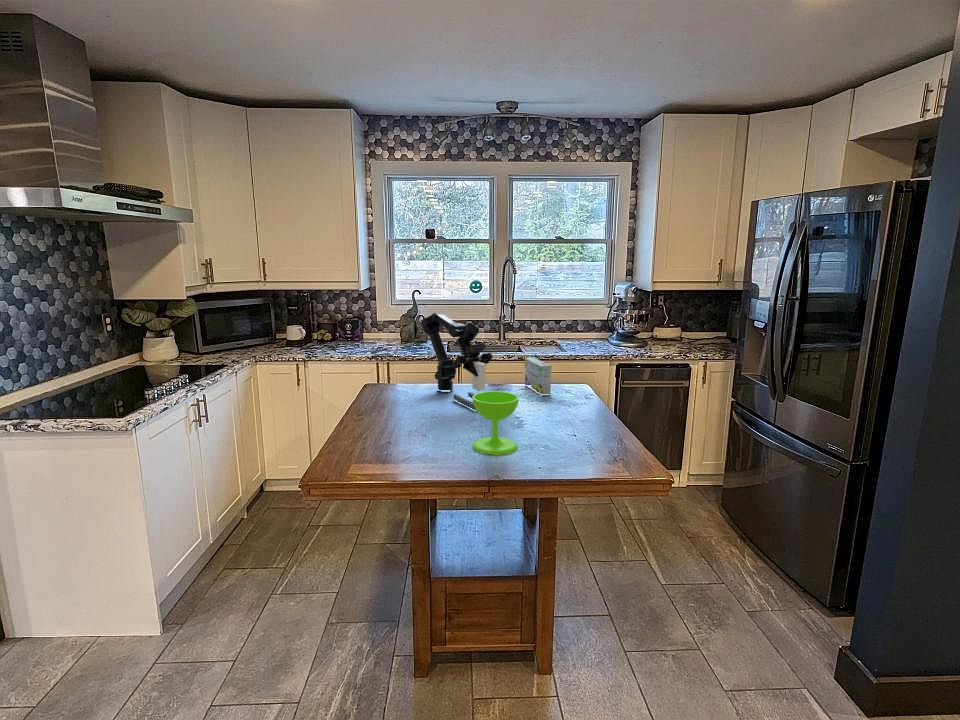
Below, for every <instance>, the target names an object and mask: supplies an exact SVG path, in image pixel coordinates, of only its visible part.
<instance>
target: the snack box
mask: <svg viewBox="0 0 960 720" xmlns="http://www.w3.org/2000/svg"><path fill="white" fill-rule="evenodd" d="M551 373H552V365H550V364H548V363H546V362H544V361H542V360H540V359H537V358H536V357H535V356H533V357H532V356H531V357H525V358H524V386H525V385H532V386H531V387H532V388H533V389H535V390H536V391H537V392H539V393H541V394H550V395H551V385H552V384H551V383H552V382H551V379H552V374H551Z"/></svg>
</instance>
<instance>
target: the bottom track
mask: <svg viewBox="0 0 960 720" xmlns="http://www.w3.org/2000/svg"><path fill="white" fill-rule="evenodd" d="M475 394H476V393H474V392H471V391H469V392H467V397H468V396H469V397H471V398H472V397H473V395H475ZM465 398H466V397H463V396H461V395H458V394H456V393H454V394H453V400H454V399H455V400H457V401H458V402H460V403H462V404H464V405H466V406H468V407H470V408H472V409H474V410H476V409H475V406H474V404H473V402H471V401H469V400H467V399H465Z"/></svg>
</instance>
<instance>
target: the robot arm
mask: <svg viewBox="0 0 960 720" xmlns="http://www.w3.org/2000/svg"><path fill="white" fill-rule="evenodd" d="M441 326H442V327H443V328H445V329H446V330H447V331H448V334H449V335H450V337H451V338H457V339H455V343H454V345H455V346H458V347H459V349H460V350H461V352H460V356H457V357H455V360H453V359H450V358H449V357H448V355H447V352H446V350H445V347H444V343H443V341H442V338H441V335H440V329H441ZM421 327H422V330H423V331H424V333H425V334H426V335H428V336H429V338H430V341H431V345H432V347H433V351H434V352H435V357H436V359H437V362H438V363H437V365H436V367H437V370H436V372H435V374H434V379H435V380H437V390H438V389H439V390H452V389H453V390H454V382H453V380H454V379H456V372H457V369H461V367H462V369H464V370H465V371H467V372H468V373H470V374H472V376H473V375H475V376H476V377H478V374H477V371H476V369H475V367H474V365H473V363H475V362H481V363H485V364H486V365H487V364H489V363H490V361H491V360H492V359H493V358H494V356H493V354H492V353H491V352H484V351H485V350H486V349H487V346H486V344H485V342H480V343H478V344H473V343H472V342H473V341H474V340H475V338H477V336H478V335H479V333H480V329H479V327H478V326H477V325H475V324H473V323H472V322H467V324H466V325H465V324H464V323H460V322H455V321H454V320H452V319H451V318H449V317H448V316H447V315H444V313H443V312H433V313H432V314H431V315H429V316H427V317H424V318H423V319H422V321H421ZM482 352H483V353H482ZM481 353H482V355H481V356H480V354H481ZM462 365H463V366H462Z"/></svg>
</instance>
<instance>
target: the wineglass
mask: <svg viewBox="0 0 960 720" xmlns="http://www.w3.org/2000/svg"><path fill="white" fill-rule="evenodd" d="M474 394H475V395H473V397H472V399H473V404H474V406H475V409H476V410H477V412H476V413H478V414H479V415H480V416H481V417H482V418H484V419H485V420H490V421H492V423H491V424H492V425H491V426H492V427H491V428H492V429H491V431H492V432H491V433H492V434H491V435H492V436H489V437H483V438H480V439H477V440H476V441H474V442H473V444H472V446H473V448H474V449H475V450H476V451H479V452H482V453H485V454H494V455H493V456H503V455H502V454H507V455H509V454H508V453H511V454H513V453H515V452H516V451H518V449H517V448H518V447H519V446H518V445H517V443H516V442H515V441H514V440H511V439H509V438H506V437H499V436H498V435H499V421H502V420H505V419H507V418H508V417H510V416H511V415H513V413H514V412H515V411H516V409H517V407H518V405H519V401H520V400H519V399H520V398H519V395H517V394H515V393H512V392H506V391H498V390H497V391H496V390H493V391H483V392H482V391H480V392H477V393H474ZM472 446H471V447H472ZM473 448H472V449H473ZM476 451H475V452H476ZM514 451H515V452H514ZM512 452H513V453H512ZM485 454H484V455H485Z"/></svg>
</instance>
